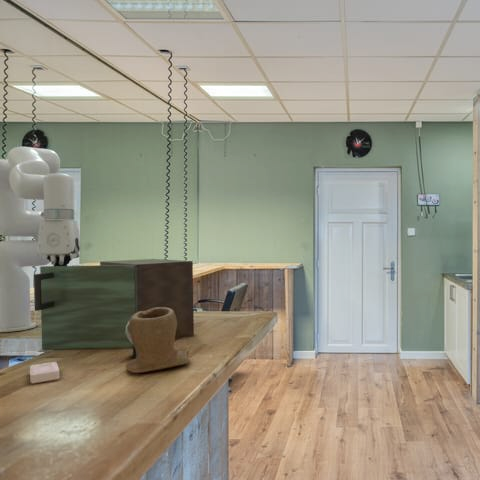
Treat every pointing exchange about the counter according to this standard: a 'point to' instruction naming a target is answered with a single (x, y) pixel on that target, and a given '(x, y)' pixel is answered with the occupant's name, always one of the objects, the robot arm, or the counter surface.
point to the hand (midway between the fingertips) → (60, 277)
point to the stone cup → (155, 341)
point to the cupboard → (164, 289)
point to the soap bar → (44, 372)
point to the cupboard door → (85, 305)
